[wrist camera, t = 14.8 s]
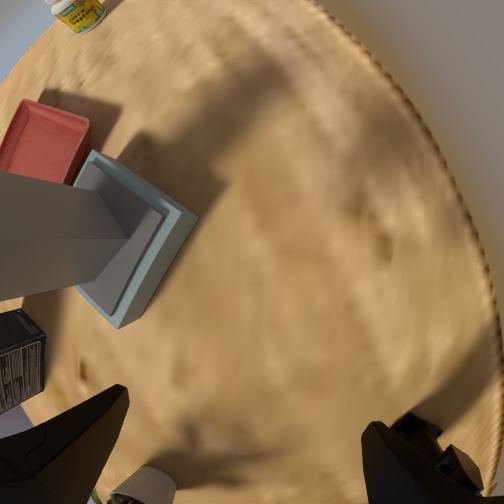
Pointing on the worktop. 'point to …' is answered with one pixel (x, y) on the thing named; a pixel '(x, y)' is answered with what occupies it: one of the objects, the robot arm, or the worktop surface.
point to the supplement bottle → (78, 13)
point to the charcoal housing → (52, 236)
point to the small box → (20, 359)
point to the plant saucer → (44, 143)
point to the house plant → (143, 488)
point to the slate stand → (132, 238)
